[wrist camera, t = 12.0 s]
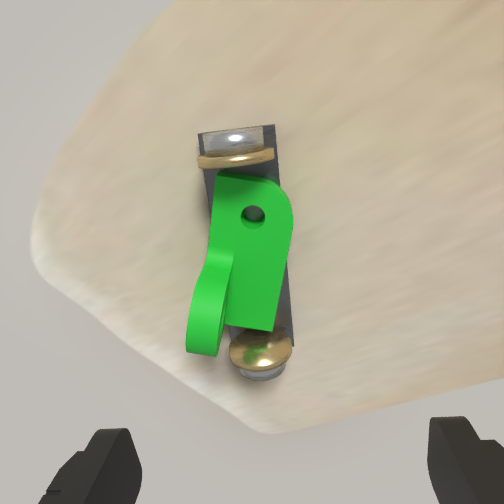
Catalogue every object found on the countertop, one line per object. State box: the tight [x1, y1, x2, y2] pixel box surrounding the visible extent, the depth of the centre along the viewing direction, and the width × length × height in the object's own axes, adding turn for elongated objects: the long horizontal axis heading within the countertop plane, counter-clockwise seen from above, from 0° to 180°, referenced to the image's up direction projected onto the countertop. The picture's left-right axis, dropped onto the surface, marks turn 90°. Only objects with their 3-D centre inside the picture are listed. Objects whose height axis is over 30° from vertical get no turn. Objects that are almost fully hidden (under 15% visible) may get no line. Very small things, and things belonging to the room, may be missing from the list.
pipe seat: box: [197, 124, 294, 381], centre depth 27 cm, size 6×19×6 cm, turn 7°
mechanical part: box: [186, 171, 293, 357], centre depth 25 cm, size 12×6×8 cm, turn 172°
